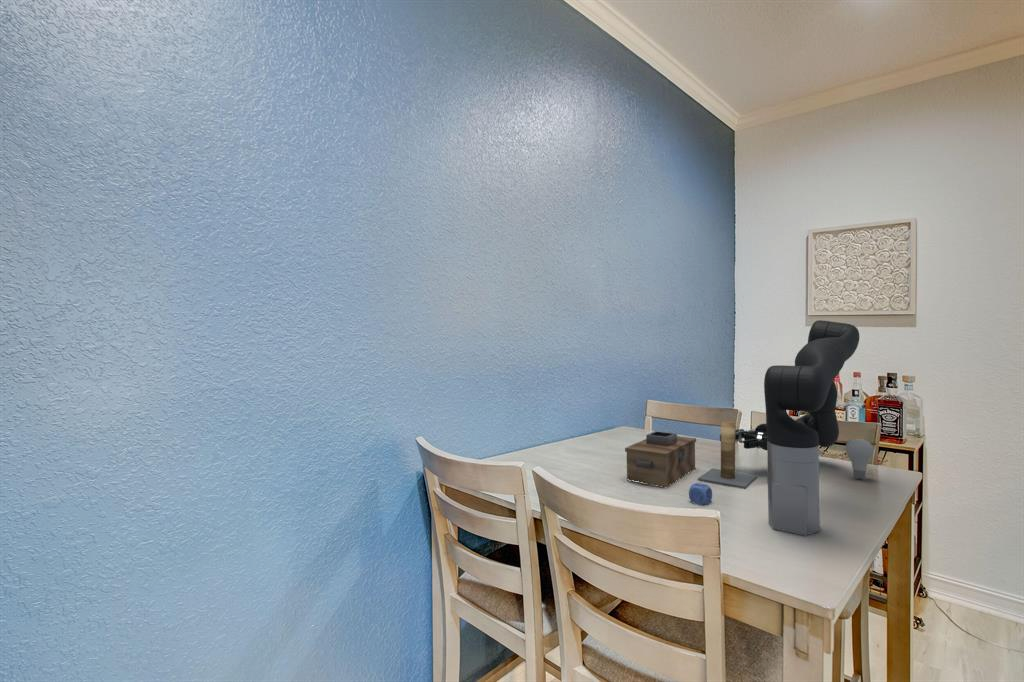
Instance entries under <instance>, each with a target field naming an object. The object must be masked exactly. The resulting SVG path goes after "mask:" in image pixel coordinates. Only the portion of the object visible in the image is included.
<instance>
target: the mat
mask: <svg viewBox="0 0 1024 682" xmlns="http://www.w3.org/2000/svg"><path fill="white" fill-rule="evenodd" d="M757 478H758V475H756V474H751V473H750V474H749V473H744V472H737V471H735V478H734V479H727V478H723V477H721V469H718V468H712V467H711V469H709V470H708V471H706V472H705V473H703V474H702V475H701V476H699V477H698V478H697V481H698V480H699V482H703V481H704V482H705V483H709V484H714V483H716V484H715V485H720V484H721V485H720V486H726V485H727V487H731V486H732V487H733V488H737V487H738V489H743V488H744V489H743V490H746V489H747V488H748V487H749V486H750V485H751V484H752V483H753V482H754V481H756V479H757ZM704 482H703V483H704Z"/></svg>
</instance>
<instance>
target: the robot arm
mask: <svg viewBox="0 0 1024 682" xmlns="http://www.w3.org/2000/svg"><path fill="white" fill-rule="evenodd" d="M807 337H808V338H807V343H806V344H805V345H803V347H802V348H801V349H800V350H799V351H798V352H797V354H796V356H795V358H794V365H779V364H778V365H771V366H769V367H768V368H767V370H766V372H765V374H764V379H763V380H764V381H763V390H764V391H763V393H764V405H765V423H760V424H758V425H757V426H756V427H755V429H748V430H745V429H743V428H739V429H735V442H738V444H743V448H744V449H746V450H747V449H755V448H756V449H758V450H759V449H761V450H764V451H767V507H768V508H767V509H768V510H767V511H768V512H767V514H768V516H767V517H768V518H767V519H768V524H769V525H771V528H772V529H774V530H778V531H783V532H788V533H791V534H796V535H800V536H806V537H807V536H808V535H812V534H816V533H818V532H820V530H821V529H820V528H821V527H820V522H821V520H820V518H821V517H820V512H821V511H820V461H819V460H820V456H819V455H820V447H823V448H829V447H832V446H833V445H834V444H835V443H836V442H837V441H838V439H839V434H840V432H839V431H840V428H839V424H838V423H839V422H838V419H837V415H836V414H837V413H836V407H837V401H838V389H837V386H836V384H835V382H834V380H835V379H836V378H837V376H838V375H839V374H840V373H841V370H842V369H843V367H844V365H845V363H846V362H847V361H848V360H849V359H850V358H851V357H852V356H853V355H854V354H855V352H856V350H857V348H858V346H859V343H860V331H859V329H858V328H857V327H856V326H855V325H854V324H850V323H845V322H836V321H829V320H822V319H821V320H816V321H814V322H813V324H812V325H811V327H810V329H809V333H808V335H807ZM788 411H796V412H805V413H808V414H804V415H803V416H801V417H799V418H796V419H794V418H792V416H790V415H789V414H788ZM719 441H720V442H721V434H719Z"/></svg>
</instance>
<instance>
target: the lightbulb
mask: <svg viewBox="0 0 1024 682" xmlns="http://www.w3.org/2000/svg"><path fill="white" fill-rule="evenodd" d="M844 450H845V453H846V454H847V457H848V458H849V460H850V462H851V467H852V470H853V476H854V477H855V478H856V479H857V480H863V479H865V478H866V471H867V467H868V464H869V461H870V460H871V459H872V457H873V455H874V447H873V445H872V444H871V443H870V442H869V441H867V440H866V439H863V438H859V437H858V438H857V437H855V438H852V439H849V441H847V443H846V444H845V449H844Z"/></svg>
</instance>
